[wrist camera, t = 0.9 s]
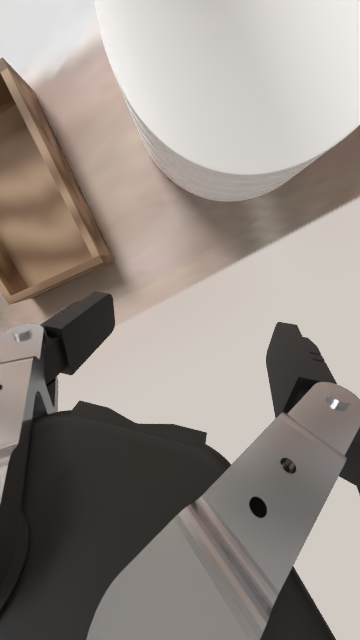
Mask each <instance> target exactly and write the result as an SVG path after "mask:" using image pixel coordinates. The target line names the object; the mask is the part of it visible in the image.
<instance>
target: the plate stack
mask: <svg viewBox="0 0 360 640" xmlns="http://www.w3.org/2000/svg"><path fill="white" fill-rule="evenodd" d="M94 1H95V8H96V14H97V19H98V24H99V29H100V33H101V37H102V41H103V44H104V48H105V51H106V54H107V57H108V60H109V62H110V65H111V68H112V70H113V73H114V75H115V77H116V80H117V82H118V85H119V87H120V89H121V92H122V94H123V97H124V99H125V102H126V104H127V106H128V109H129V111H130V114H131V116H132V118H133V121H134V123H135V126H136V128H137V130H138V133H139V135H140V138H141V140H142V142H143V144H144V146H145V148H146V150H147V152H148V153H149V155H150V156H151V158H152V159H153V161H154V162H155V164H156V165H157V166H158V167H159V168H160V170H161V171H162V172H163V173H164V174H165V175H166V176H167V177H168V178H169V179H170V180H172V181H173V182H174V183H175V184H177V185H178V186H179V187H181V188H183V189H184V190H186V191H188V192H190V193H192V194H194V195H196V196H199V197H202V198H205V199H209V200H214V201H223V202H234V201H243V200H248V199H252V198H255V197H258V196H261V195H264V194H266V193H268V192H270V191H272V190H274V189H276V188H278V187H279V186H281V185H283V184H284V183H286V182H287V181H288V180H290V179H291V178H292V177H294V176H295V175H296V174H298V173H299V172H300V171H302V170H303V169H304V168H306V167H307V166H308V165H310V164H311V163H312V162H314V161H315V160H316V159H318V158H319V157H320V156H322V155H323V154H324V153H326V152H327V151H328V150H330V149H331V148H332V147H334V146H335V145H336V144H338V143H339V142H340V141H342V140H343V139H344V138H346V137H347V136H348V135H349V134H350V133H352V132H353V131H354V130H355V129H356V128H357V127H358V126H359V125H360V0H94Z"/></svg>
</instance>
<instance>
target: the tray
mask: <svg viewBox="0 0 360 640" xmlns="http://www.w3.org/2000/svg"><path fill="white" fill-rule="evenodd" d="M112 262H114V259H113V257H112V255H111V253H110V251H109V249H108V247H107V245H106V242H105V240H104V238H103V236H102V234H101V232H100V230H99V228H98V226H97V224H96V221H95V219H94V217H93V215H92V213H91V211H90V209H89V207H88V205H87V203H86V200H85V198H84V196H83V194H82V192H81V190H80V188H79V186H78V184H77V182H76V179H75V177H74V175H73V173H72V171H71V169H70V167H69V165H68V163H67V161H66V158H65V156H64V154H63V152H62V150H61V148H60V146H59V144H58V142H57V140H56V137H55V135H54V133H53V131H52V129H51V127H50V125H49V123H48V121H47V119H46V116H45V114H44V112H43V110H42V108H41V106H40V104H39V102H38V100H37V98H36V95H35V93H34V91H33V89H32V88H31V87H30V86H29V85H28V84H27V83H26V82H25V81H24V80H23V79H22V78H21V77H20V76H19V75H18V73H17V72H16V71H15V70H14V69H13V68H12V67H11V66H10V65H9V64H8V63H7V62H6V61H5V60H4V59H3V58H1V59H0V291H1V292H2V294H3V296H4V297H5V299H6V300H7V302H8V303H9V304H13V303H16V302H20V301H24V300H27V299H31V298H34V297H36V296H38V295H40V294H43V293H45V292H47V291H49V290H51V289H54V288H56V287H58V286H60V285H63V284H65V283H67V282H69V281H72V280H74V279H76V278H78V277H80V276H83V275H85V274H87V273H89V272H92V271H94V270H96V269H98V268H101V267H103V266H105V265H107V264H110V263H112Z"/></svg>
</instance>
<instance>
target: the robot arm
mask: <svg viewBox="0 0 360 640" xmlns="http://www.w3.org/2000/svg"><path fill="white" fill-rule="evenodd" d="M114 326H115V317H114V306H113V298H112V295H111V294H107V293H101V292H94V293H92V294H91V295H89V296H88V297H86V298H85V299H83V300H81V301H78V302H75V303H73V304H72V305H70V306H69V307H67V309H64V310H63V311H61V313H58V314H56V315H55V316H53V317H52V318H50V319H49V320H47V321H45V322H44V323H42V324H41V325H37V324H23V325H19V326H15V327H12V328H10V329H8V330H6V331H5V332H3V333H2V334H1V336H0V640H336V639H335V637H334V635H333V634H332V632H331V630H330V629H329V627H328V625H327V623H326V622H325V620H324V618H323V617H322V615H321V613H320V611H319V610H318V608H317V606H316V605H315V603H314V601H313V599H312V598H311V596H310V594H309V593H308V591H307V589H306V588H305V586H304V584H303V582H302V581H301V579H300V577H299V575H298V574H297V572H296V570H295V569H294V567H293V565H294V563H295V561H296V559H297V557H298V555H299V553H300V551H301V549H302V547H303V545H304V543H305V541H306V539H307V537H308V535H309V533H310V531H311V529H312V527H313V525H314V523H315V521H316V519H317V517H318V515H319V513H320V511H321V509H322V507H323V506H324V504H325V502H326V500H327V497H328V496H329V494H330V492H331V490H332V488H333V486H334V484H335V482H336V480H337V478H338V476H340V477H342V478H343V479H345V480H347V481H349V482H351V483H352V484H354V485H356V486H357V488H358V491H359V493H360V399H359V398H358V397H357V396H356V395H355V394H353V393H352V392H350V391H349V390H347V389H345V388H343V387H342V386H339V385H337V383H336V381H335V379H334V378H333V376H332V374H331V372H330V370H329V368H328V366H327V365H326V363H324V359H323V358H322V356H321V353H320V351H319V349H318V348H317V346H316V345H315V344H314V343H313V342H312V341H310V340H309V339H308V338H305V337H302V335H301V333H300V331H299V329H298V326H297V325H294V324H288V323H282V322H278V323H277V324H276V327H275V330H274V332H273V335H272V338H271V341H270V344H269V348H268V350H267V356H266V365H267V371H268V377H269V383H270V388H271V394H272V400H273V406H274V412H275V417H276V419H275V420H274V421H273V422H272V423H271V424H270V425H269V426H268V427H267V428H266V429H265V430H264V431H263V432H262V434H261V435H260V436H259V437H258V438H257V439H256V440H255V441H254V442H253V443H252V444H251V445H250V446H249V447H248V448H247V449H246V450H245V451H244V452H243V453H242V454H241V455H240V457H239V458H238V459H237V460H236V461H235V462H234V463H233V464H232V465H231V464H230V463H229V462H228V461H227V460H226V459H225V458H224V457H223V456H222V455H221V454H220V453H218V452H217V451H216V450H214V449H213V448H211V447H210V446H208V445H206V444H205V442H206V435H207V433H206V432H202V431H198V430H194V429H190V428H186V427H182V426H178V425H174V424H137V423H134V422H132V421H131V420H129V419H127V418H125V417H124V416H122V415H120V414H118V413H117V412H115V411H113V410H111V409H110V408H107V407H103V406H99V405H95V404H91V403H87V402H83V401H79V402H78V403H77V405H76V406H75V407H74V408H73V410H70V411H60V412H57V411H58V379H57V375H58V374H59V373H65V374H68V375H73V374H74V373H75V372H76V370H77V369H78V368H79V367H80V366H81V365H82V364H83V363H84V362H85V361H86V360H87V359H88V358H89V356H90V355H91V354H92V353H93V352H94V351H95V350H96V349H97V348H98V347H99V346H100V345H101V344H102V342H103V341H104V340H105V339H106V338H107V337H108V336H109V335H110V334H111V333H112V331H113V329H114Z"/></svg>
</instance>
